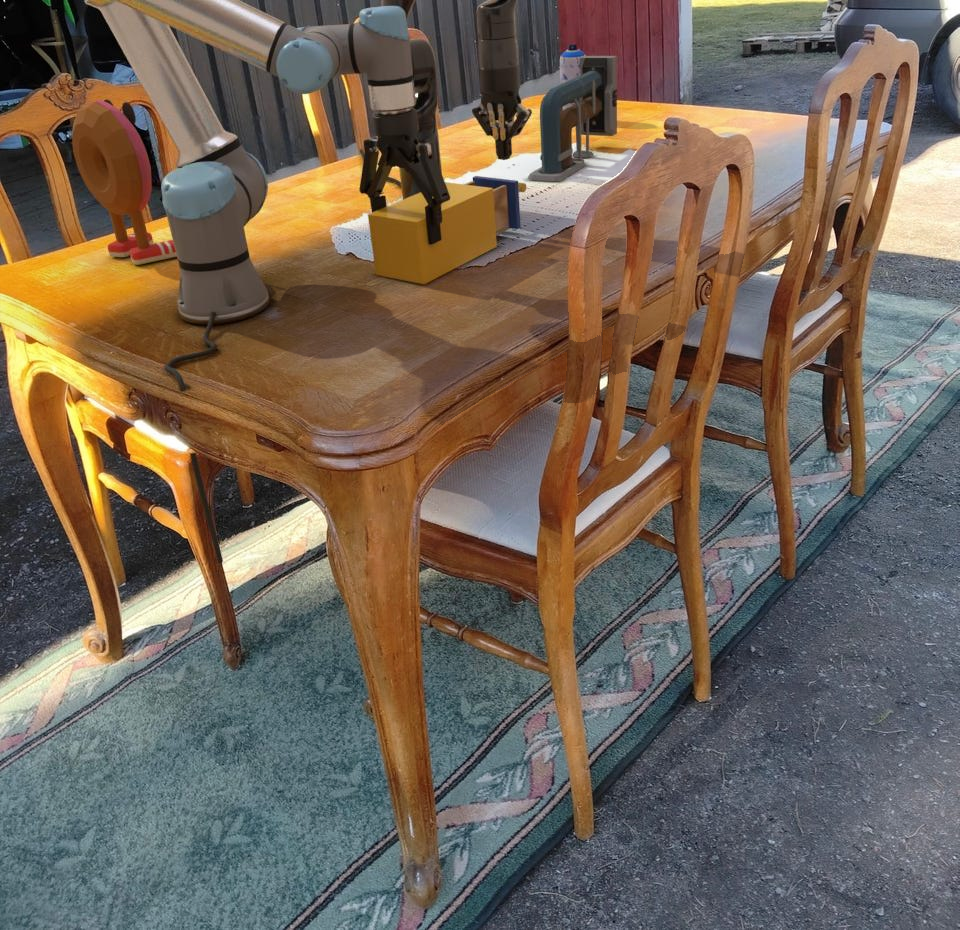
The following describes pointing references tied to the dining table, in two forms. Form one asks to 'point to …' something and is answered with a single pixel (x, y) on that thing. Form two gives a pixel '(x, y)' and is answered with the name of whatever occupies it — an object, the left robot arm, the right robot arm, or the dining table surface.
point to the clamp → (577, 117)
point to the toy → (118, 176)
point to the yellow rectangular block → (406, 236)
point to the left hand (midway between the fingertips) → (408, 237)
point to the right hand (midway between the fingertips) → (504, 158)
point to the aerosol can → (570, 66)
